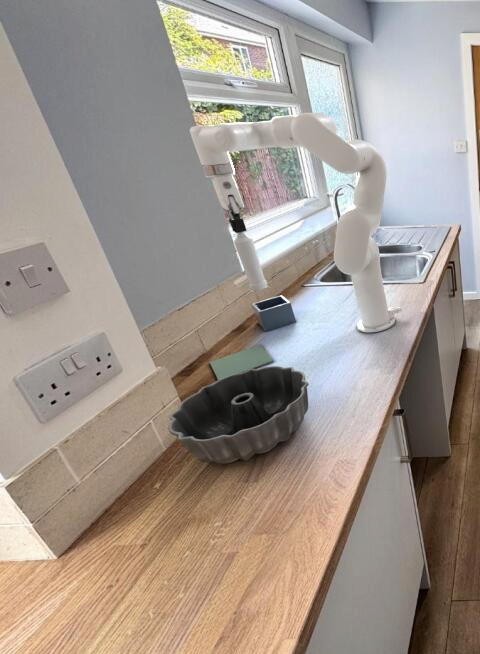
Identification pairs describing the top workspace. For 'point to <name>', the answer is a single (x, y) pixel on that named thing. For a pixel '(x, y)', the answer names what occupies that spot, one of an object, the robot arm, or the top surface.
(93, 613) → the top surface
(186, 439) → the bundt pan
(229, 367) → the mat
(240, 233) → the bottle
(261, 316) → the box
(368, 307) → the robot arm
